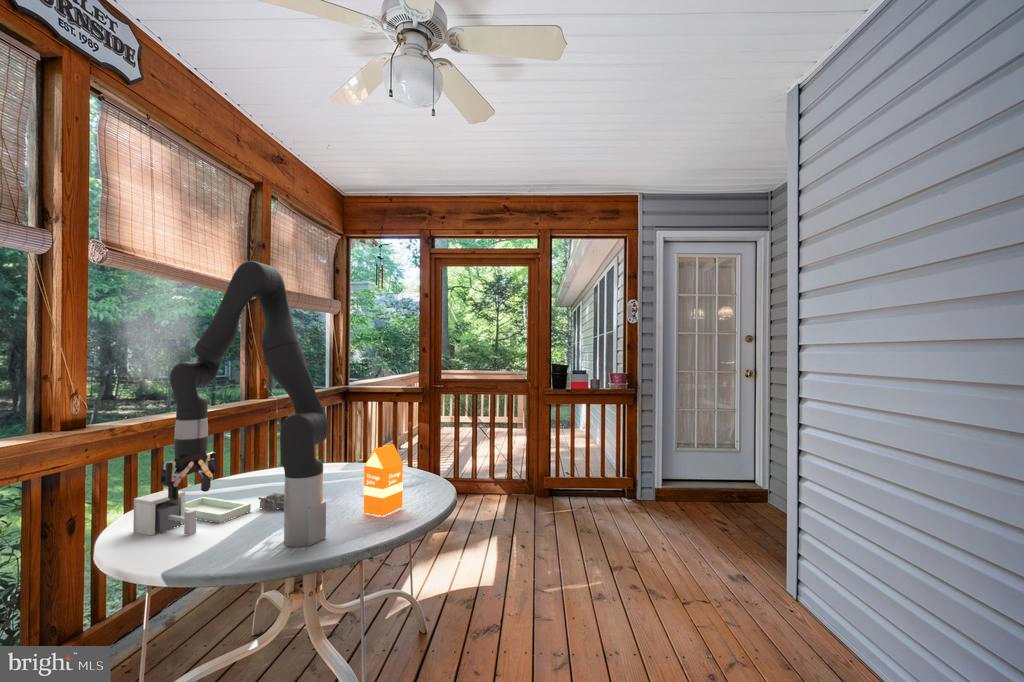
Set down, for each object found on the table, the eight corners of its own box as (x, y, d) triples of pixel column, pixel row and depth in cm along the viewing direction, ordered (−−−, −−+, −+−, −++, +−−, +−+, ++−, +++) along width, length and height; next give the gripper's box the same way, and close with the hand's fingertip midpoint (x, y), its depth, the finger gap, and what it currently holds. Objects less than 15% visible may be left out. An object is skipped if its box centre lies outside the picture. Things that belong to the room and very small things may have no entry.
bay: (184, 523, 133) (184, 491, 134) (150, 535, 125) (151, 501, 125) (167, 520, 136) (167, 489, 136) (133, 532, 127) (133, 498, 127)
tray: (250, 512, 143) (250, 503, 143) (220, 523, 134) (220, 514, 134) (203, 504, 150) (203, 496, 150) (171, 515, 140) (171, 506, 140)
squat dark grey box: (201, 530, 128) (201, 508, 128) (183, 537, 124) (183, 514, 124) (163, 523, 133) (164, 502, 134) (145, 530, 129) (145, 508, 129)
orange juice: (363, 514, 141) (363, 447, 141) (384, 505, 149) (384, 442, 149) (382, 518, 138) (383, 450, 138) (403, 509, 145) (403, 445, 146)
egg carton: (256, 511, 145) (256, 497, 145) (269, 503, 152) (269, 490, 152) (289, 511, 144) (289, 497, 144) (301, 503, 152) (301, 490, 152)
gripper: (174, 441, 119) (172, 505, 119) (225, 432, 132) (224, 489, 132) (154, 439, 121) (152, 501, 121) (206, 430, 135) (205, 486, 135)
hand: (190, 495), depth 127 cm, fingers open, 8 cm apart
